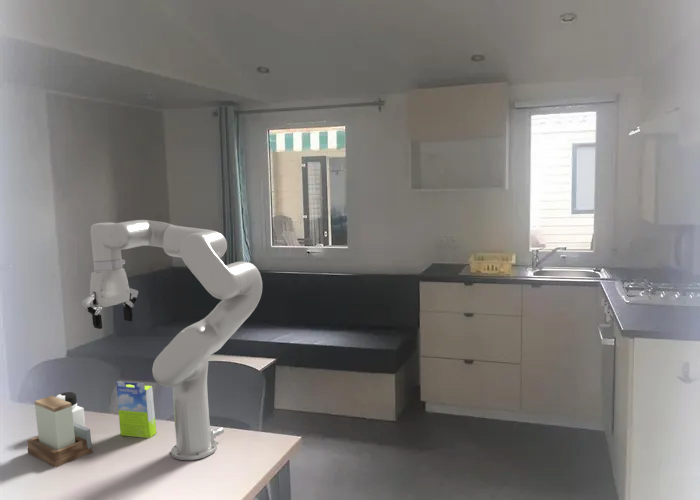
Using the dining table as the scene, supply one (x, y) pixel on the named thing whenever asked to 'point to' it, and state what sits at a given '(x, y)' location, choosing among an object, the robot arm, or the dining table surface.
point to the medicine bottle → (74, 407)
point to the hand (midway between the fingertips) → (113, 324)
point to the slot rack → (66, 453)
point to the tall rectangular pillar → (55, 422)
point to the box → (136, 409)
